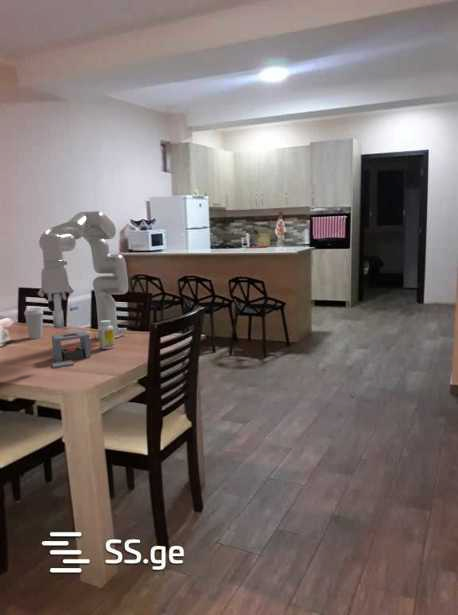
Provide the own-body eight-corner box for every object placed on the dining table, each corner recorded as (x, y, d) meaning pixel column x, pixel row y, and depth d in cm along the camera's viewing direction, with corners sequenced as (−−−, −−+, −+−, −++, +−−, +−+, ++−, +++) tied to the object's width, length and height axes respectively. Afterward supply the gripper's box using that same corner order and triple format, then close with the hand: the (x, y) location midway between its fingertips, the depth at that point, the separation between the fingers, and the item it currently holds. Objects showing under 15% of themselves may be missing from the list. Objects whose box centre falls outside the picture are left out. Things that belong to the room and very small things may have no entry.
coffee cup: (49, 336, 265) (47, 308, 262) (34, 340, 257) (31, 311, 254) (38, 334, 270) (35, 307, 267) (22, 338, 262) (19, 310, 260)
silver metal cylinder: (63, 325, 208) (60, 292, 206) (65, 327, 204) (62, 293, 202) (53, 327, 206) (50, 293, 204) (54, 328, 203) (51, 294, 200)
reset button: (76, 352, 223) (75, 346, 222) (78, 355, 218) (78, 348, 218) (65, 354, 220) (64, 347, 220) (67, 356, 216) (66, 349, 216)
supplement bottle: (117, 346, 237) (115, 319, 235) (109, 349, 231) (107, 322, 229) (105, 345, 240) (103, 319, 238) (97, 349, 233) (95, 322, 231)
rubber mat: (70, 361, 213) (70, 359, 212) (74, 365, 207) (73, 363, 207) (51, 364, 209) (51, 363, 209) (54, 368, 204) (53, 366, 203)
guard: (85, 353, 227) (84, 331, 225) (90, 357, 219) (89, 334, 217) (53, 357, 220) (51, 335, 218) (57, 362, 212) (55, 339, 211)
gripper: (72, 263, 208) (76, 306, 211) (30, 266, 201) (34, 311, 203) (77, 264, 202) (80, 309, 205) (33, 266, 194) (37, 313, 197)
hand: (57, 309), depth 204 cm, fingers closed on silver metal cylinder, 4 cm apart
